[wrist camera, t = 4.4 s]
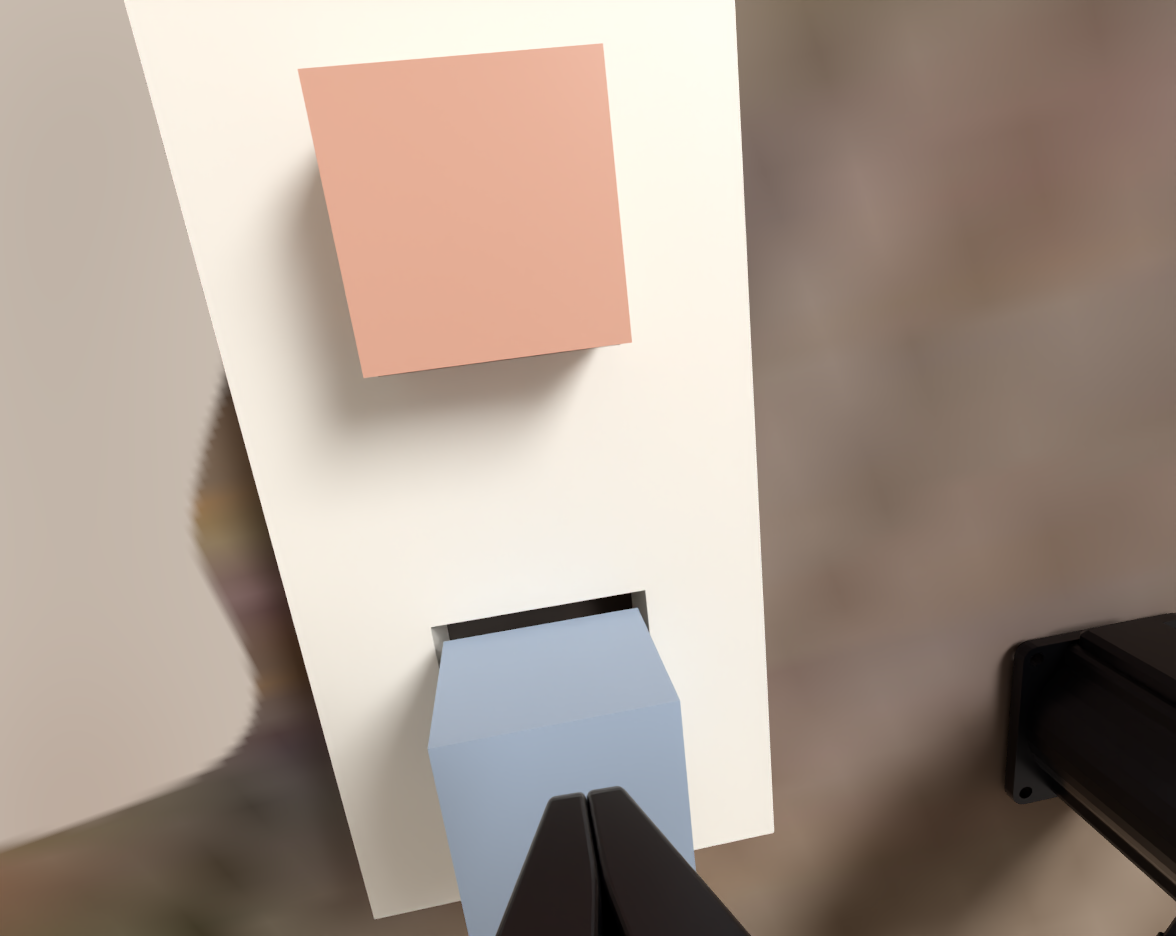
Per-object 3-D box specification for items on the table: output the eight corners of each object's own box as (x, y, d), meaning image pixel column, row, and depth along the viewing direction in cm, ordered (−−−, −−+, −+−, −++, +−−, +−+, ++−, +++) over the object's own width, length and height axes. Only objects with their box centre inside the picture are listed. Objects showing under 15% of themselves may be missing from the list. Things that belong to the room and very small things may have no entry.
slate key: (654, 767, 18) (697, 894, 14) (476, 803, 18) (471, 945, 14) (637, 607, 17) (680, 700, 13) (443, 641, 16) (427, 749, 12)
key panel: (743, 774, 22) (774, 832, 20) (388, 847, 21) (374, 919, 18) (693, -49, 15) (729, -112, 13) (169, -12, 14) (103, -74, 12)
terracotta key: (599, 331, 16) (631, 342, 12) (395, 357, 16) (363, 378, 12) (574, 109, 15) (602, 43, 11) (350, 130, 14) (297, 68, 10)
